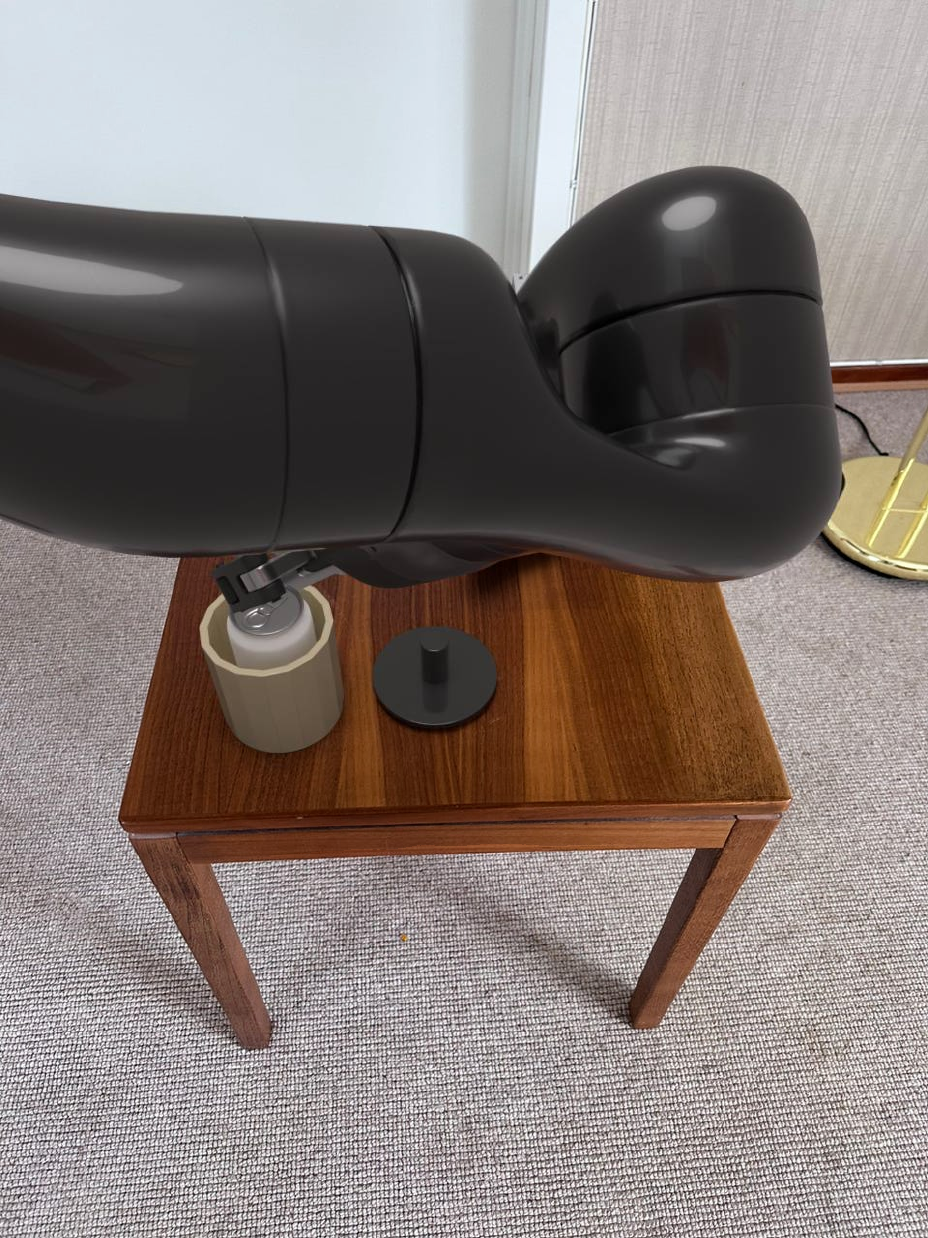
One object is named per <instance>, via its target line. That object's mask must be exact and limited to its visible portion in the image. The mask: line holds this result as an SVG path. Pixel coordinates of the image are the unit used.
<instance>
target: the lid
mask: <svg viewBox="0 0 928 1238" xmlns="http://www.w3.org/2000/svg"><path fill="white" fill-rule="evenodd" d="M497 684H498V670H497V664H496V661H495V659H494V657H493V655H492V653H491V652H490V650H489V649H488V648H487V647H486V645H485V644H484V643H483V642H481V640H479V638H477V637H475V636H474V635H472V634H470V633H468V632H466V631H463V630H461V629H459V628H455V627H452V626H451V627H449V626H444V625H443V626H442V625H431V626H430V625H427V626H421V627H416V628H412V629H410V630H407V631H405V632H403V633H401V634H399V635H397V636H395V637H394V638H393V639H391V640H390V641H389V642H387V643H386V645H385V646H384V647H383V648H382V649H381V650H380V652H379V653H378V655H377V657H376V659H375V662H374V664H373V668H372V685H373V691H374V694H375V695H376V696H375V697H376V699H377V700H378V702H379V703H380V705H381V707H383V709H385V710H386V711H387V712H388V713H389V714H390V715H391V716H393V718H395V719H397V720H399V721H401V723H402V722H403V723H404V724H408V725H410V726H412V727H413V726H414V727H417V728H423V729H445V728H452V727H456V726H458V725H462V724H464V723H466V722H468V721H470V720H472V719H474V718H476V716H477V715H479V714H480V713H481V712H482V711H484V710H485V708H487V706H488V705H489V703H490V702H491V701H492V700H493V699H492V698H493V697H494V695H495V692H496V688H497Z"/></svg>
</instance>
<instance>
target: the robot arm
mask: <svg viewBox="0 0 928 1238" xmlns="http://www.w3.org/2000/svg"><path fill="white" fill-rule="evenodd" d="M813 235H814V234H813V232H812V229H811V226H810V223H809V220H808V217H807V216H806V214H805V212H804V211H803V209H802V208H801V206H800V204H799V203H798V201H797V199H796V198H795V197H794V196H793V195H792V194H791V193H790V192H788V191H787V190H786V189H785V188H784V187H782V186H781V185H780V184H779V183H777V182H776V181H775V180H773V179H771V178H769V177H766V176H764V175H762V174H759V173H757V172H754V171H752V170H749V169H745V168H740V167H737V166H725V165H713V164H711V165H709V164H707V165H696V166H695V165H694V166H688V167H683V168H679V169H675V170H670V171H666V172H663V173H658V174H655V175H653V176H650V177H647V178H644V179H641V180H640V181H638V182H636V183H633V184H631V185H629V186H627V187H625V188H623V189H622V190H620V191H618V192H616V193H615V194H613V195H611V196H610V197H608V198H607V199H605V200H603V201H601V202H600V203H598V204H597V205H595V206H594V207H593V208H591V209H589V211H587V212H586V213H584V214H583V215H582V216H581V217H580V218H579V219H578V220H576V221H575V222H574V223H573V224H572V225H571V226H570V227H569V228H568V229H567V230H566V231H565V232H564V233H563V234H561V236H560V237H559V238H557V240H555V242H554V243H552V245H551V246H550V247H549V248H547V250H546V251H545V252H544V253H543V255H542V256H541V257H540V259H539V260H538V261H537V263H536V264H535V265H534V267H533V268H532V269H531V271H530V272H529V273H528V274H529V275H528V277H527V278H526V280H525V281H524V283H523V284H522V286H521V287H520V289H519V290H518V292H517V293H515V291H514V288H513V286H512V282H511V281H510V279H509V277H508V276H507V274H506V272H505V271H504V270H503V268H502V267H501V266H500V264H499V263H498V261H496V259H495V258H494V257H493V256H492V255H491V254H490V253H489V252H488V251H487V250H486V249H484V248H483V247H481V246H480V245H478V244H477V243H475V242H473V241H470V240H469V239H467V238H464V237H462V236H459V235H456V234H451V233H447V232H443V231H438V230H432V229H425V228H424V229H422V228H414V227H413V228H412V227H404V226H403V227H402V226H388V225H387V226H386V225H372V224H371V225H370V224H369V225H365V224H360V223H349V222H348V223H347V222H333V221H332V222H330V221H319V220H304V219H303V220H301V219H289V218H273V217H259V216H246V215H245V216H241V215H230V214H229V215H228V214H211V213H196V212H180V211H178V212H177V211H163V210H160V211H159V210H149V209H148V210H145V209H136V208H128V207H127V208H126V207H117V206H106V205H97V204H87V203H80V202H79V203H78V202H69V201H59V200H51V199H49V200H48V199H44V198H43V199H41V198H35V197H29V196H22V195H21V196H20V195H14V194H7V193H0V520H1V521H4V522H6V523H9V524H10V525H14V526H16V527H20V528H22V529H25V530H28V531H32V532H34V533H37V534H40V535H42V536H46V537H49V538H51V539H52V538H53V539H57V540H61V541H63V542H67V543H72V544H74V545H79V546H82V547H86V548H90V549H96V550H100V551H107V552H112V553H113V552H114V553H118V554H123V555H129V556H131V555H132V556H142V557H151V558H152V557H153V558H164V559H197V558H198V559H199V558H200V559H202V558H203V559H205V558H207V559H208V558H209V559H210V558H226V557H227V558H228V557H236V558H234V559H232V560H230V561H228V562H224V561H221V562H219V563H217V564H215V565H214V567H215V568H214V569H212V570H210V571H209V573H210V575H211V577H212V578H213V580H214V582H215V584H216V585H217V587H218V589H219V591H220V592H221V594H223V596H224V598H225V599H226V601H227V603H228V605H229V606H230V608H231V610H232V612H233V613H237V612H240V611H241V613H242V612H244V611H246V610H248V609H250V608H253V607H257V606H260V605H264V604H266V603H269V602H272V603H275V602H277V601H279V600H280V599H282V598H281V597H280V596H282V595H284V594H285V593H286V592H287V591H286V588H285V586H291V587H292V588H293V589H295V590H301V589H303V588H305V587H308V586H313V585H314V584H317V583H318V582H320V581H323V580H324V579H327V578H329V577H331V576H333V575H338V576H339V575H340V576H345V575H348V576H349V577H351V578H352V579H354V580H356V581H358V582H360V583H362V584H365V585H368V586H370V587H374V588H379V589H387V590H388V589H392V590H393V589H405V588H409V587H412V586H419V585H422V584H427V583H433V582H438V581H442V580H447V579H452V578H456V577H462V576H466V575H470V574H474V573H476V572H480V571H482V570H485V569H487V568H489V567H491V566H493V565H495V564H497V563H499V562H501V561H505V560H509V559H513V558H518V557H519V558H520V557H522V556H528V555H533V554H534V555H535V554H540V553H541V554H547V555H550V556H555V557H556V556H557V557H561V558H566V559H570V560H574V561H578V562H581V563H586V564H590V565H593V566H597V567H600V568H601V567H602V568H605V569H608V570H609V569H610V570H613V571H618V572H621V573H622V572H623V573H627V574H629V575H635V576H639V577H645V578H653V579H659V580H666V581H673V582H677V583H693V584H695V583H697V584H698V583H699V584H701V583H702V584H704V583H705V584H712V583H713V584H714V583H723V582H731V581H732V582H733V581H740V580H744V579H749V578H754V577H757V576H760V575H763V574H765V573H768V572H770V571H773V570H775V569H778V568H779V567H781V566H783V565H785V564H787V563H789V562H790V561H791V560H793V559H794V558H796V557H797V556H799V554H801V553H802V552H803V551H804V550H805V549H807V547H809V546H810V545H811V544H812V543H813V542H814V541H816V539H817V538H818V537H819V536H820V534H821V533H822V532H823V531H824V529H825V528H826V526H827V525H828V524H829V522H830V520H831V519H832V517H833V514H834V512H835V510H836V509H837V507H838V503H839V500H840V495H841V490H842V481H843V480H842V479H843V477H842V476H843V461H842V451H841V442H840V435H839V434H840V433H839V426H838V418H837V412H836V411H835V410H836V401H835V392H834V386H833V376H832V370H831V362H830V361H831V360H830V352H829V345H828V337H827V329H826V320H825V314H824V310H823V304H824V302H823V291H822V284H821V275H820V268H819V261H818V254H817V248H816V242H815V239H814V236H813ZM268 554H273V555H274V556H273V557H271V558H270V557H269V556H268ZM230 604H231V605H230Z"/></svg>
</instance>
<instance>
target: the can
mask: <svg viewBox="0 0 928 1238" xmlns="http://www.w3.org/2000/svg"><path fill="white" fill-rule="evenodd" d="M285 588H286V591H287V592H286V593H285V594H284V595H282V596H280V597H281V598H282V599H280V600H279V601H277V602H275V603H272V602H269V603H266V604H264V605H260V606H257V607H253V608H250V609H248V610H246V611H244V612H242V613H241V611H240V612H237V613H233V612H232V610H231V608H230V606H229V609H228V613H229V615H228V619H227V631H228V635H229V639H230V643H231V646H232V650H233V653H234V657H235V661H236V664H237V667H239V668H244V669H254V670H267V669H272V668H277V667H282V666H287V665H288V664H290V663H292V662H294V661H296V660H297V659H299V658H301V657H303V656H305V655H306V654H308V653H309V651H310V650H311V649H312V648H313V647H314V646H315V645H316V643H317V641H316V636H315V630H314V624H313V619H312V614H311V611H310V608H309V606H308V604H307V603H306V601H305V600H304V599H303V597H302V594H301V593H300V591H299V590H295V589H293V588H292V587H291V586H285ZM230 605H231V604H230Z"/></svg>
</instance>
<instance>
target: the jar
mask: <svg viewBox="0 0 928 1238" xmlns="http://www.w3.org/2000/svg"><path fill="white" fill-rule="evenodd" d="M299 591H300V593H301V594H302V597H303V599H304V600H305V601H306V603H307V604H308V606H309V608H310V611H311V614H312V619H313V624H314V630H315V636H316V641H317V643H316V645H315V646H314V647H313V648H312V649H311V650H310V651H309V653H308V654H306V655H305V656H303V657H301V658H299V659H297V660H296V661H294V662H292V663H290V664H288V665H287V666H282V667H277V668H272V669H267V670H254V669H244V668H239V667H237V664H236V661H235V657H234V653H233V650H232V646H231V643H230V639H229V635H228V631H227V619H228V615H229V613H228V609H229V605H228V603H227V601H226V599H225V598H224V596H223V594H222V593H221V594H220V595H219V596H218V597H217V598H216V599H215V600H214V601H213V602H212V603H210V605H209V606H208V607H207V608H206V610H205V612H204V615H203V618H202V620H201V622H200V625H199V634H200V635H199V636H200V644H201V649H202V652H203V655H204V659H205V661H206V665H207V667H208V670H209V673H210V676H211V680H212V682H213V686H214V689H215V691H216V695H217V698H218V701H219V704H220V707H221V710H222V713H223V716H224V719H225V722H226V724H227V725H228V728H229V729H230V731H231V732H232V734H233V735H234V737H236V738H237V739H238V740H239V741H240V742H241V743H242V744H244V745H246V746H247V747H249V748H252V749H254V750H256V751H259V752H263V753H270V754H287V753H294V752H296V751H297V752H298V751H300V750H303V749H306V748H308V747H311V746H312V745H314V744H317V743H318V742H319V741H320V740H322V739H323V738H325V737H326V736H327V735H328V734H329V733H330V732H331V731H332V730H333V729H334V728H335V726H336V724H337V723H338V721H339V720H340V718H341V715H342V713H343V709H344V705H345V704H344V703H345V691H344V684H343V678H342V677H343V676H342V669H341V664H340V656H339V649H338V643H337V642H338V641H337V635H336V629H335V621H334V617H333V613H332V609H331V606H330V605H331V604H330V602H329V601H328V600H327V599H326V597H325V596H324V595H323V594H321V592H320V591H319V590H318V589H317V588H316V587H315V586H313V585H310V586H308V587H305V588H303V589H301V590H299Z"/></svg>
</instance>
